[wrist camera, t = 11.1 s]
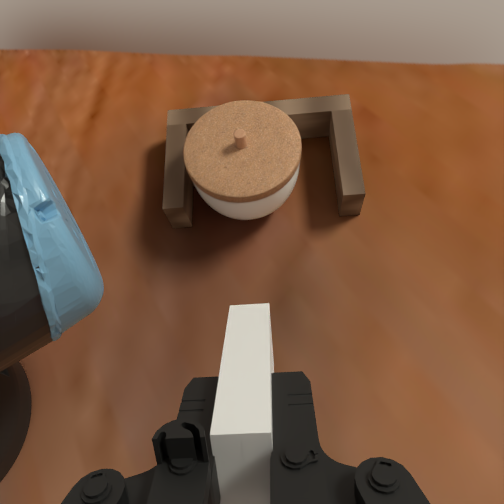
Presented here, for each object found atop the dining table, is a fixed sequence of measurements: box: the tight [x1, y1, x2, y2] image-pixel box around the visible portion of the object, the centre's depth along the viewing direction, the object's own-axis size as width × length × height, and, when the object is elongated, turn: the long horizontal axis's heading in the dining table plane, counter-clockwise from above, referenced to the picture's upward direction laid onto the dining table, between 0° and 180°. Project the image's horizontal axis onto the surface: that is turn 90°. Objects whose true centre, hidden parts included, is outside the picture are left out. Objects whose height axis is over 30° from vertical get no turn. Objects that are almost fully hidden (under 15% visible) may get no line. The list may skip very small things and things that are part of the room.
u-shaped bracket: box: [162, 94, 365, 228], centre depth 46 cm, size 19×12×4 cm, turn 92°
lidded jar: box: [183, 100, 302, 220], centre depth 42 cm, size 11×11×9 cm
